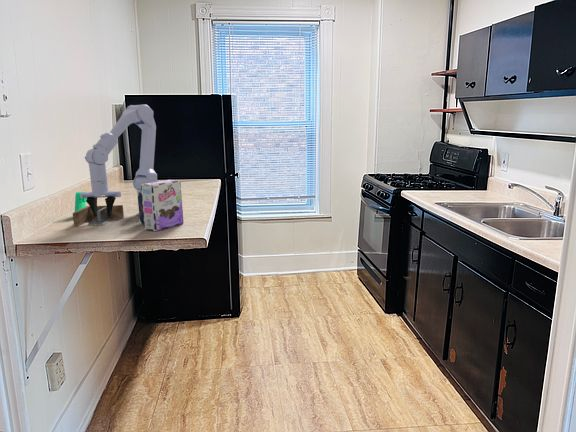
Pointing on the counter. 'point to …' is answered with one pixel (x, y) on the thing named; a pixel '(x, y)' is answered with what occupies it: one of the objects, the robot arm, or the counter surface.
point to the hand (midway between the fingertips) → (103, 216)
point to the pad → (98, 224)
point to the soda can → (140, 208)
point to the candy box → (162, 204)
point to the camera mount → (79, 201)
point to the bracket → (100, 217)
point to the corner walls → (87, 214)
